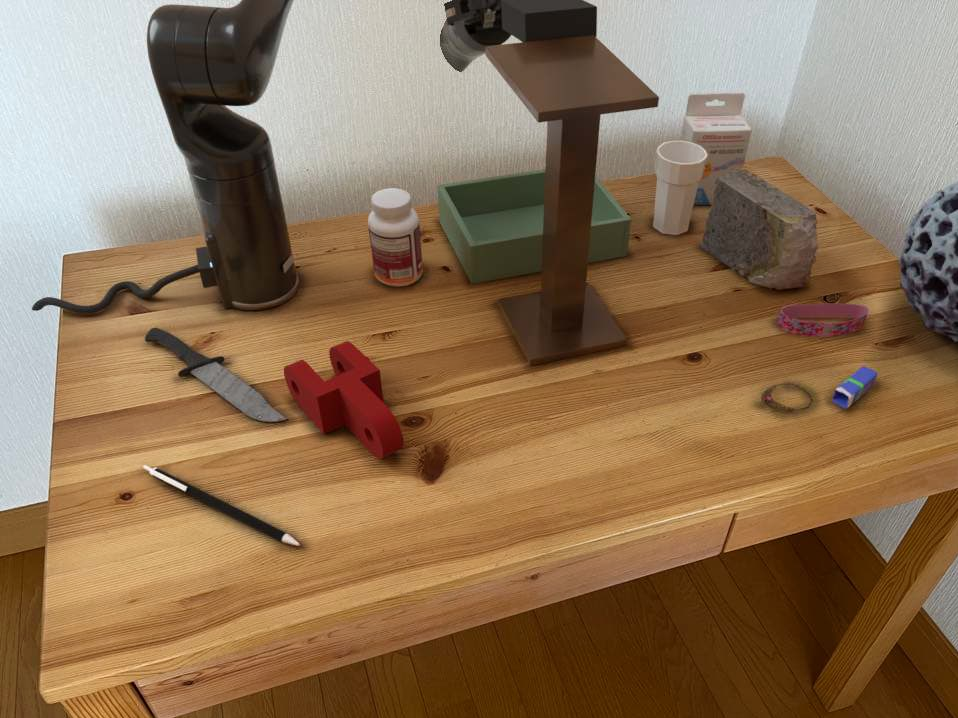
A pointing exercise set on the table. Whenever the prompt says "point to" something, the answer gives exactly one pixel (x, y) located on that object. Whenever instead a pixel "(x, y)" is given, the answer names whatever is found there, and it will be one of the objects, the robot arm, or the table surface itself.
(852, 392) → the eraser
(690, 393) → the table surface
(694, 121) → the ink box
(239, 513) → the pen
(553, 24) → the bar
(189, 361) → the knife
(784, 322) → the headband
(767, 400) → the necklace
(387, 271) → the pill bottle
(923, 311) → the decorative object
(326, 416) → the mechanical linkage
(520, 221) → the bin
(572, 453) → the table surface
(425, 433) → the table surface
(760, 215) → the geological specimen
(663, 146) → the cup
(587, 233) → the shelf stand
